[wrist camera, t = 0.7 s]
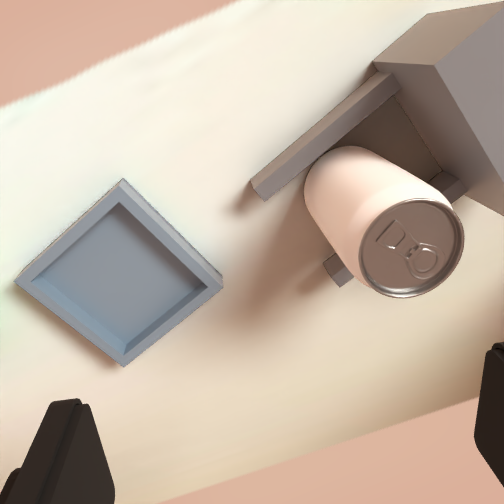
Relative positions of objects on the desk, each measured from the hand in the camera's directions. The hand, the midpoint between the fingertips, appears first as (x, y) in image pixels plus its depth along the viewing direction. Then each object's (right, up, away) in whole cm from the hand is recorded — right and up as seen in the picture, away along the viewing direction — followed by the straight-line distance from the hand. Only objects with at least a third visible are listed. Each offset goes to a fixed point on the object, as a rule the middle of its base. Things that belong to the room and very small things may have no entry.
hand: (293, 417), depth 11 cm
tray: (-11, +2, +24) cm, 27 cm away
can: (+6, +9, +24) cm, 26 cm away
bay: (+8, +11, +23) cm, 27 cm away
